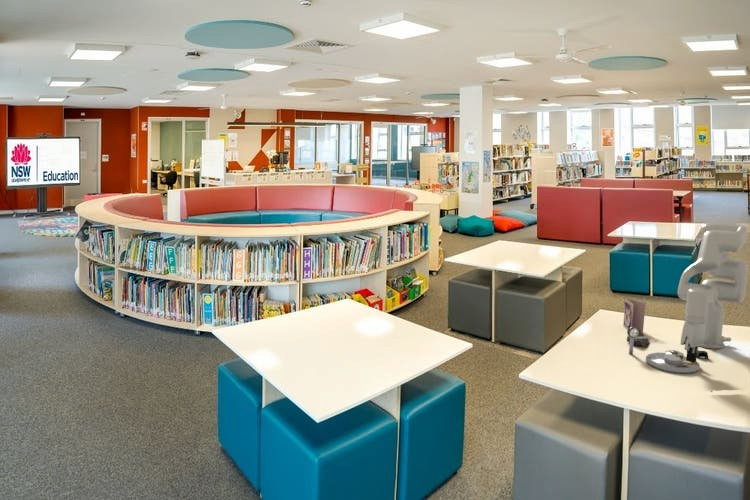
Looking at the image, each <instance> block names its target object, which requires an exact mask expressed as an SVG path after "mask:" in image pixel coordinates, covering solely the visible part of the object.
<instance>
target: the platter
mask: <svg viewBox="0 0 750 500" xmlns="http://www.w3.org/2000/svg"><path fill="white" fill-rule="evenodd" d="M696 353H697V352H696ZM664 354H665V352H653V353H649V354H647V355H646V356H645V362H646V364H647V365H649V367H652V368H654V369H656V370H659V371H662V372H666V373H671V374H676V375H677V374H678V375H688V374H689V375H692V374H696V373H699V371H700V369H701V368H700V367H701V365H700V363H699V362H698V361H696V362H694V363H693V362H689V361H687V360H686V357H687V356H684V357H683V364H682V365H679V366H677V365H670V364H667V363H665V362H664Z"/></svg>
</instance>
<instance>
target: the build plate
mask: <svg viewBox="0 0 750 500" xmlns="http://www.w3.org/2000/svg"><path fill="white" fill-rule="evenodd" d="M699 358H705V359H706V360H708V359H709V354H708V352H707V351H706V350H698V352H697V358H696V359H699Z"/></svg>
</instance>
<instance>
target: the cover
mask: <svg viewBox="0 0 750 500" xmlns="http://www.w3.org/2000/svg"><path fill="white" fill-rule="evenodd" d="M664 353H665V354H664V362H665V363H667V364H670V365H677V366H679V365H682V364H683V357H684V355H685V354H684V353H683V352H681V351H678V350H670V349H668V350H665V351H664Z"/></svg>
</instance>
